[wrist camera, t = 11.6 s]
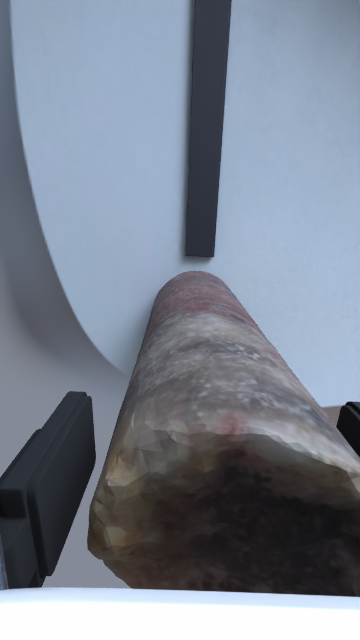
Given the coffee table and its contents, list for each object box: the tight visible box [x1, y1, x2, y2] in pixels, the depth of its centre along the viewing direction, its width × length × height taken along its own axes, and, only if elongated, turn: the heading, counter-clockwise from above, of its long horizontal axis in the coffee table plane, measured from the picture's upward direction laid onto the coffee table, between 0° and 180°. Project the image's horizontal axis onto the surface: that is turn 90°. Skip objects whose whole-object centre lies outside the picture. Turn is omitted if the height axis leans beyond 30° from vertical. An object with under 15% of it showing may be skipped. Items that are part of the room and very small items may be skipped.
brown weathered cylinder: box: [87, 271, 360, 597], centre depth 15 cm, size 8×7×20 cm
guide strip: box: [185, 0, 232, 257], centre depth 19 cm, size 2×27×1 cm, turn 178°
